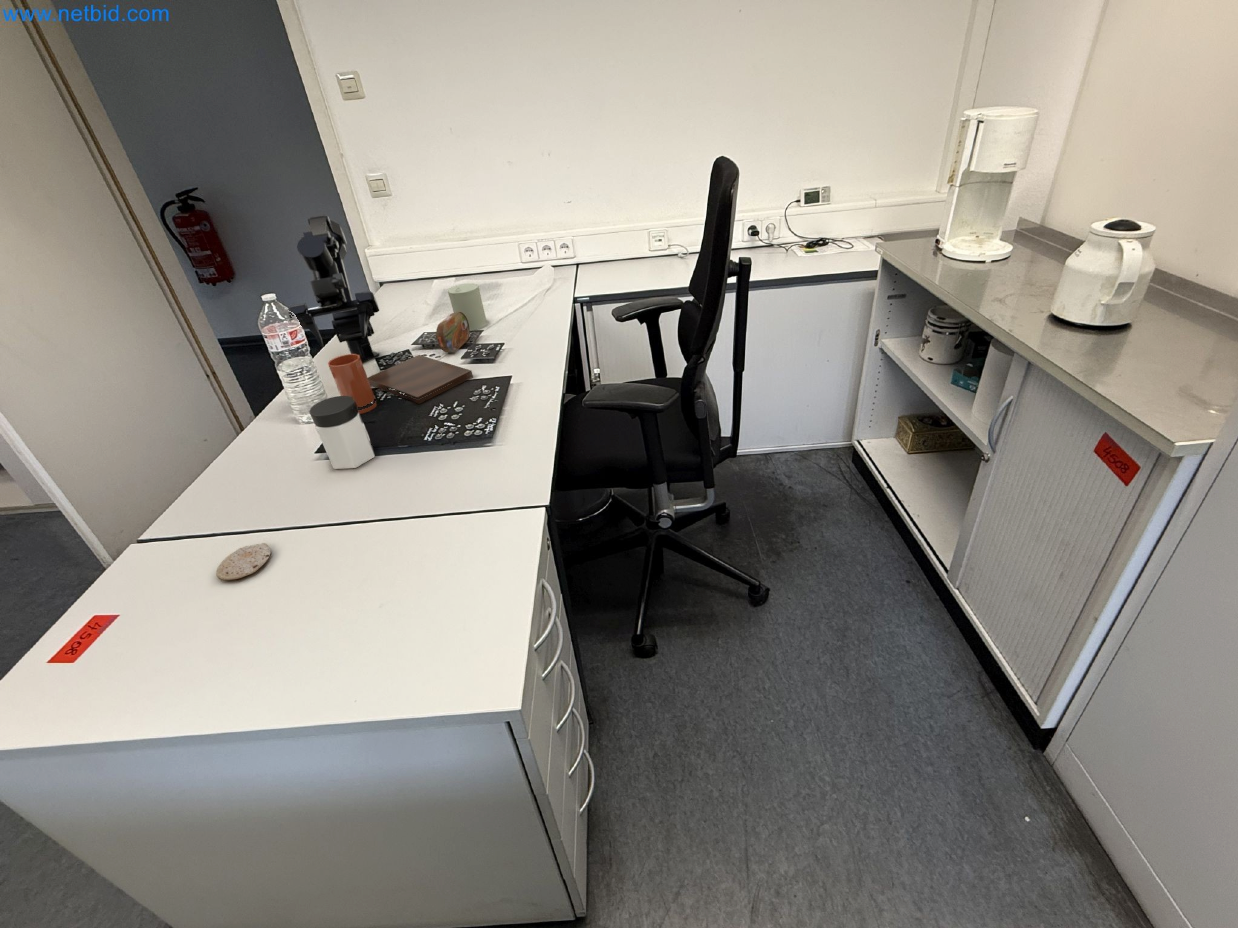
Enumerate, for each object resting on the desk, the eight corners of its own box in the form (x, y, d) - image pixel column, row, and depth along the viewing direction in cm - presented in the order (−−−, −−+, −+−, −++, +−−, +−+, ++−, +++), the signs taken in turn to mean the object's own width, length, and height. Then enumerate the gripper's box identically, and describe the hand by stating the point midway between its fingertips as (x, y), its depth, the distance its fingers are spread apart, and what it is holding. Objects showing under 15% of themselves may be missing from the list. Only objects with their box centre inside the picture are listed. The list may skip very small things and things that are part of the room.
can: (451, 330, 174) (440, 291, 168) (468, 319, 181) (458, 281, 175) (476, 332, 171) (466, 291, 164) (493, 321, 178) (484, 281, 171)
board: (368, 384, 147) (366, 378, 146) (420, 361, 157) (419, 354, 156) (419, 404, 134) (417, 397, 133) (473, 377, 144) (471, 370, 143)
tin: (450, 357, 157) (442, 327, 152) (440, 357, 157) (431, 327, 153) (473, 335, 169) (465, 307, 164) (463, 336, 169) (455, 308, 165)
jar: (377, 461, 114) (356, 408, 108) (334, 475, 112) (309, 421, 105) (372, 442, 121) (352, 390, 115) (331, 454, 119) (308, 402, 112)
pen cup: (341, 410, 136) (322, 362, 129) (367, 398, 140) (349, 351, 133) (356, 417, 132) (337, 368, 125) (382, 404, 136) (365, 357, 129)
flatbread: (248, 583, 88) (245, 578, 87) (206, 580, 89) (203, 575, 89) (283, 547, 94) (280, 542, 94) (243, 544, 96) (240, 540, 95)
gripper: (271, 270, 127) (286, 334, 124) (360, 255, 132) (376, 316, 129) (290, 297, 138) (304, 356, 135) (371, 282, 142) (387, 338, 139)
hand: (343, 341), depth 134 cm, fingers open, 9 cm apart
